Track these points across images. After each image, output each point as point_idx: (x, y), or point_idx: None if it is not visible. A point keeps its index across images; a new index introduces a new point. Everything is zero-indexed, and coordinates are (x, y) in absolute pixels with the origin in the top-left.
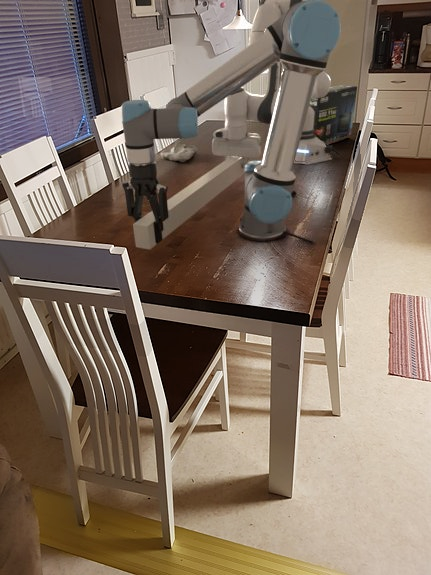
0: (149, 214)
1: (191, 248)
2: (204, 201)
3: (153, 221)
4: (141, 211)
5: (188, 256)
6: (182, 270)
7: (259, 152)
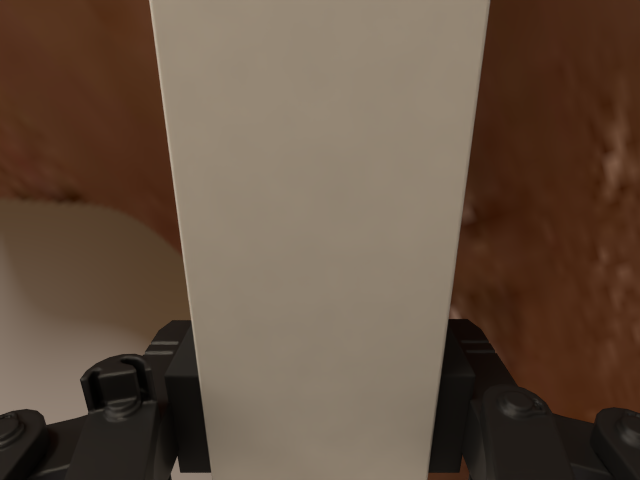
0: (232, 301)
1: (547, 54)
2: None
3: (424, 470)
4: (148, 460)
5: (560, 180)
6: (571, 337)
7: None
